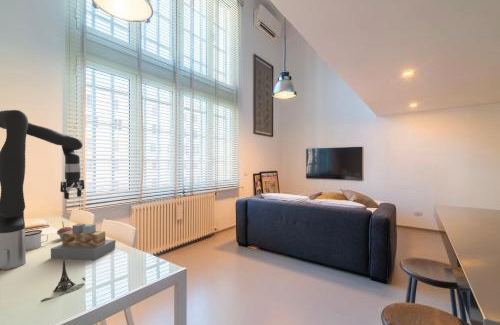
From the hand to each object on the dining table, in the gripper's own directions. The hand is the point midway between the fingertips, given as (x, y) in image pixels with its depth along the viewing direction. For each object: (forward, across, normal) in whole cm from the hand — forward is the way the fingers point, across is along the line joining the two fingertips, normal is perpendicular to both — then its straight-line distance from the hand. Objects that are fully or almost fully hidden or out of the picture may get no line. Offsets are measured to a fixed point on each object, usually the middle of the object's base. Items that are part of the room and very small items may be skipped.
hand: (73, 197), depth 140 cm
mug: (+28, -8, +18) cm, 34 cm away
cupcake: (+28, +8, +14) cm, 33 cm away
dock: (+28, -13, -19) cm, 36 cm away
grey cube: (+17, -13, -16) cm, 26 cm away
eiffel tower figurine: (+29, -46, -40) cm, 67 cm away
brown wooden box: (+23, -13, -19) cm, 33 cm away
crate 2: (+17, -13, -22) cm, 31 cm away
